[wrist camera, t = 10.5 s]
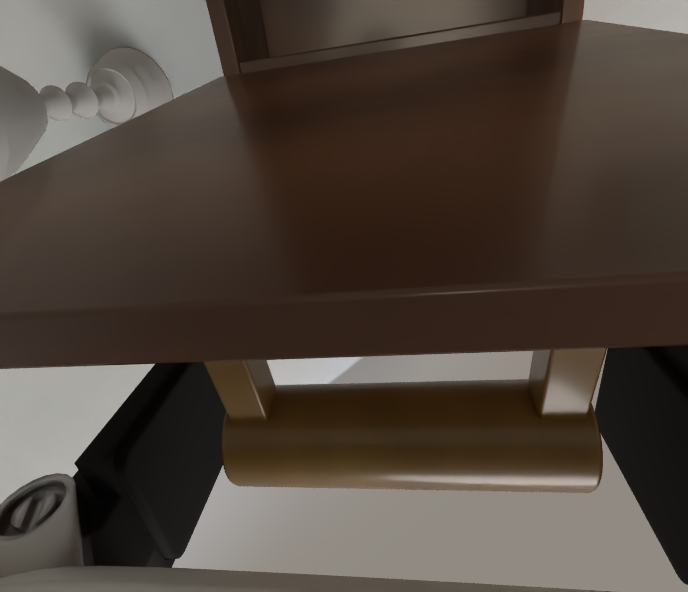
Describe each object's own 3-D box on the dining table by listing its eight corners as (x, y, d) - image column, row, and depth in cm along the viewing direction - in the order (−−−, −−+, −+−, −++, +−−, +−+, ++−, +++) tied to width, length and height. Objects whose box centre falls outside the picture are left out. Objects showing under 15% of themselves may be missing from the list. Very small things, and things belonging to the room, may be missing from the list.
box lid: (-328, 335, 5) (-13, 558, 8) (1912, 202, 2) (1027, 617, 5) (219, 76, 19) (252, 192, 22) (587, 19, 16) (564, 159, 19)
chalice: (162, 13, 23) (-310, -86, 8) (207, 138, 27) (-68, 245, 11) (55, 48, 25) (-516, 23, 9) (109, 162, 28) (-253, 286, 12)
